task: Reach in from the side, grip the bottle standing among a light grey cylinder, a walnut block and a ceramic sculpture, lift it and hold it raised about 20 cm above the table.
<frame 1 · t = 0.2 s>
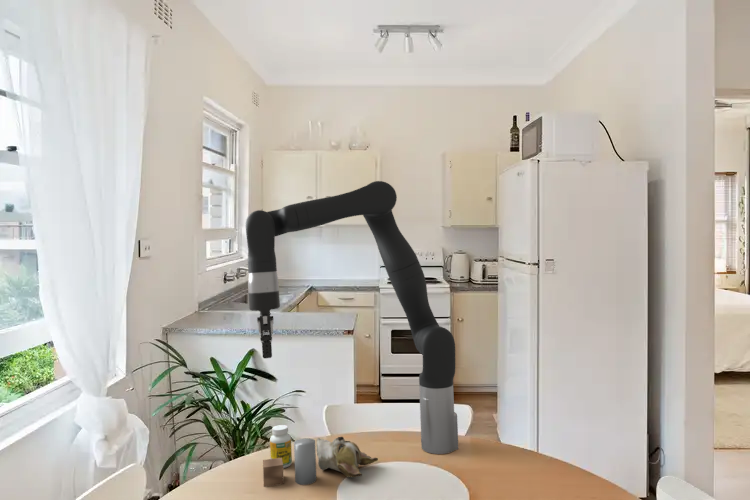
hand: (267, 355, 124), 29 cm above the table, fingers open, 8 cm apart
light grey cylinder: (305, 480, 118), on the table
supplement bottle: (281, 465, 128), on the table
walnut block: (273, 481, 118), on the table
ceramic sculpture: (343, 472, 123), on the table
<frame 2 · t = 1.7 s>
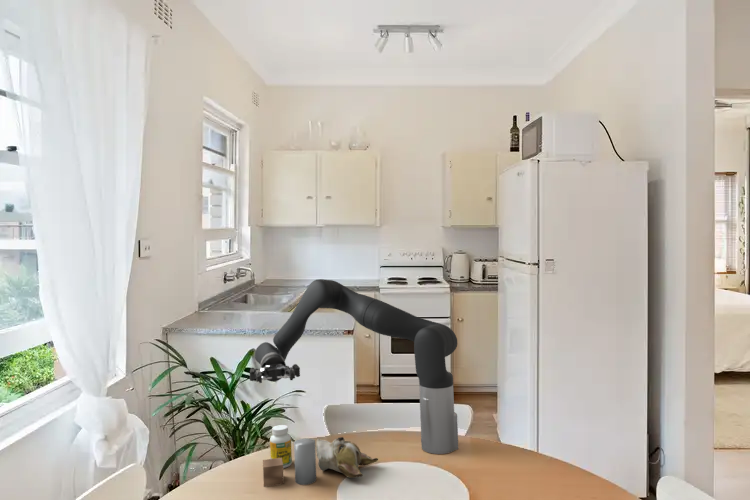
hand: (276, 378, 139), 20 cm above the table, fingers open, 8 cm apart
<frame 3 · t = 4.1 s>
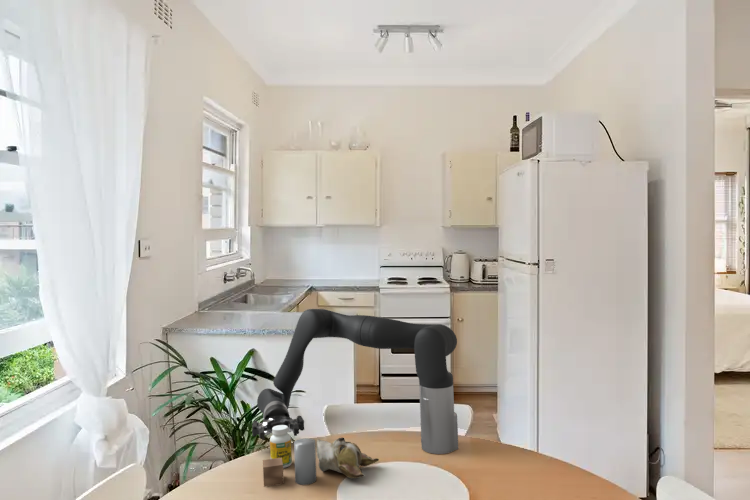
hand: (279, 434, 133), 6 cm above the table, fingers open, 8 cm apart
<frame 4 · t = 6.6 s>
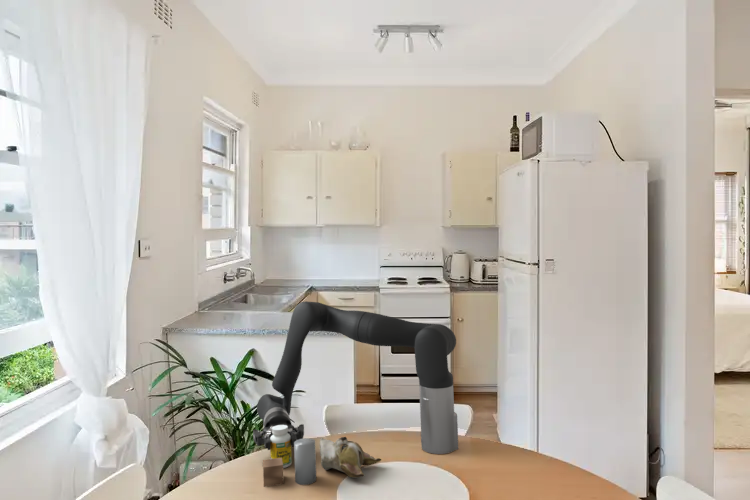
hand: (281, 444, 125), 6 cm above the table, fingers closed on supplement bottle, 5 cm apart
supplement bottle: (281, 465, 128), on the table, touching gripper
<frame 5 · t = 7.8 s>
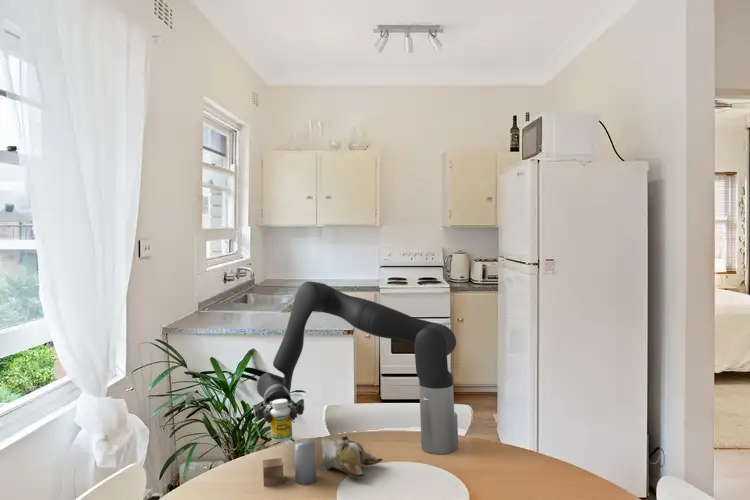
hand: (281, 417, 125), 13 cm above the table, fingers closed on supplement bottle, 5 cm apart
supplement bottle: (281, 439, 128), point 7 cm above the table, touching gripper
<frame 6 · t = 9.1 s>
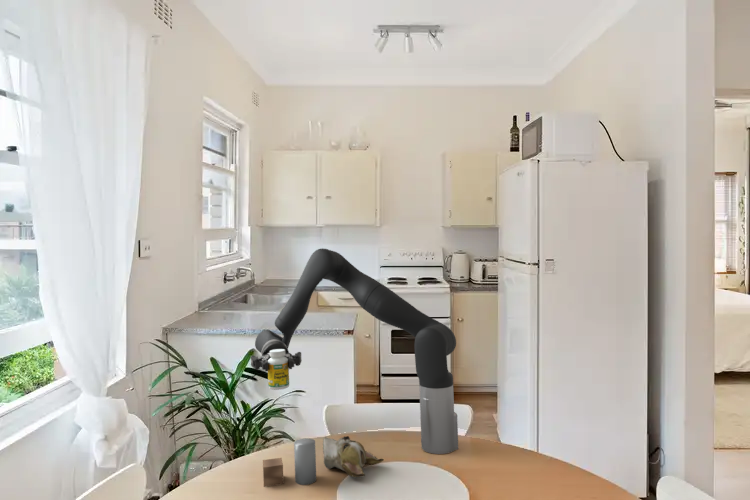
hand: (278, 366, 126), 26 cm above the table, fingers closed on supplement bottle, 5 cm apart
supplement bottle: (278, 388, 128), point 19 cm above the table, touching gripper
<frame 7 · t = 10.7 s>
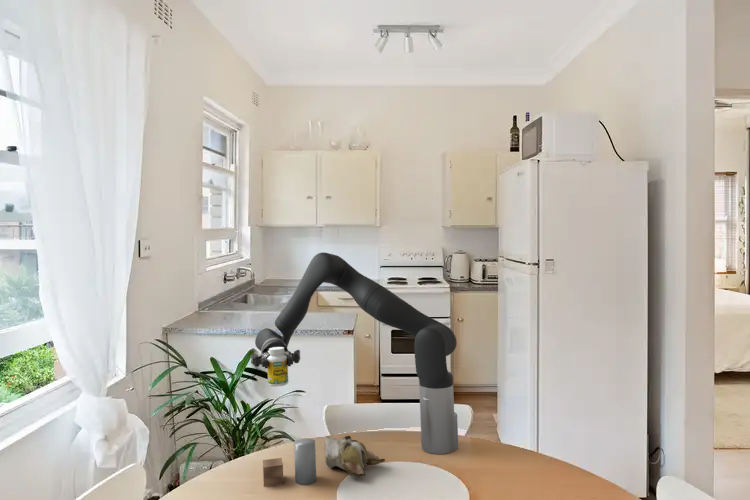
hand: (278, 363, 130), 26 cm above the table, fingers closed on supplement bottle, 5 cm apart
supplement bottle: (278, 385, 132), point 19 cm above the table, touching gripper
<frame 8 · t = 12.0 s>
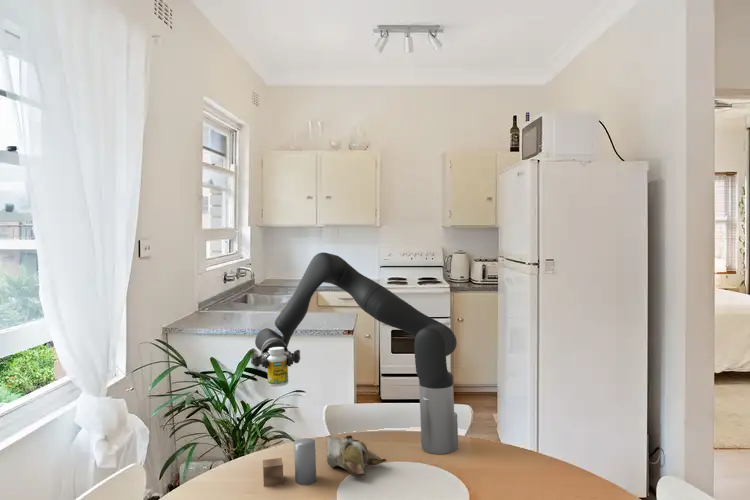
hand: (278, 363, 130), 26 cm above the table, fingers closed on supplement bottle, 5 cm apart
supplement bottle: (278, 385, 132), point 19 cm above the table, touching gripper
at the end: the gripper is holding supplement bottle; supplement bottle point 19.4 cm above the table; walnut block moved 0.1 cm from its start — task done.
